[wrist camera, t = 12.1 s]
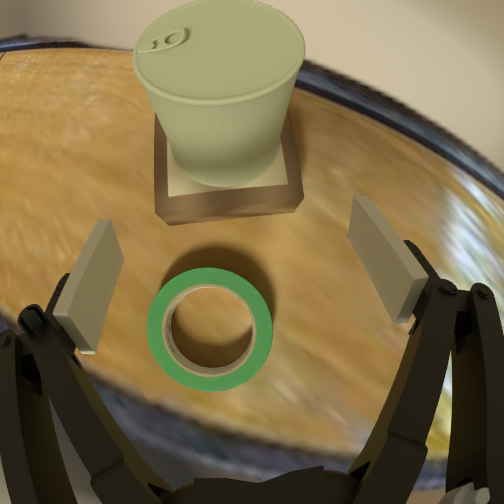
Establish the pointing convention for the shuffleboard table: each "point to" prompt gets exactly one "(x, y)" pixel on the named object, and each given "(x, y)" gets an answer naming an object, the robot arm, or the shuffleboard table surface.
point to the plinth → (225, 198)
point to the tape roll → (182, 366)
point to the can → (221, 85)
